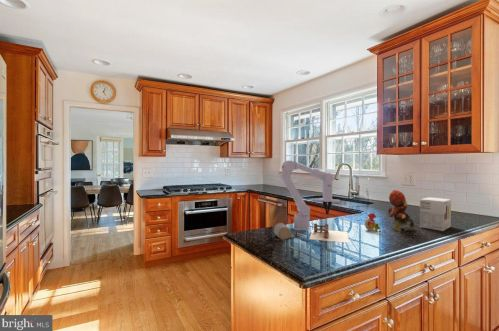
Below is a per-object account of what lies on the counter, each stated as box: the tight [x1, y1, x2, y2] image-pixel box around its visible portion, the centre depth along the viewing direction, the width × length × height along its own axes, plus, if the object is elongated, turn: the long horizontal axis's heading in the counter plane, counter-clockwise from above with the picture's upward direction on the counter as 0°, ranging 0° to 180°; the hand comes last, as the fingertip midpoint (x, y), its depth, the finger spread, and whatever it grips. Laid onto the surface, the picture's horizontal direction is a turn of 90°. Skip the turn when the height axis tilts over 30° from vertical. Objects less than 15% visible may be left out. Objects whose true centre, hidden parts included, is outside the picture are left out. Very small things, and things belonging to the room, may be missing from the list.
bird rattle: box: [364, 212, 382, 232], centre depth 163 cm, size 6×11×9 cm
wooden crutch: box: [324, 226, 329, 238], centre depth 149 cm, size 11×2×4 cm, turn 162°
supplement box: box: [419, 196, 452, 232], centre depth 172 cm, size 17×13×18 cm
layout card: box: [309, 228, 350, 243], centre depth 151 cm, size 20×22×1 cm
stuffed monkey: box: [387, 189, 421, 233], centre depth 167 cm, size 15×17×25 cm
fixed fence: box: [313, 223, 329, 232], centre depth 157 cm, size 8×2×5 cm, turn 72°
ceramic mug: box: [273, 222, 296, 241], centre depth 147 cm, size 11×8×8 cm
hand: (327, 214), depth 166 cm, fingers closed
